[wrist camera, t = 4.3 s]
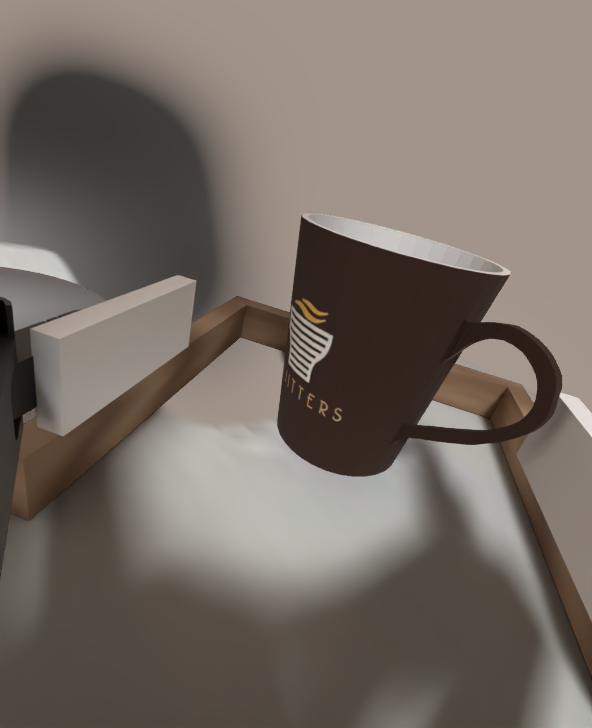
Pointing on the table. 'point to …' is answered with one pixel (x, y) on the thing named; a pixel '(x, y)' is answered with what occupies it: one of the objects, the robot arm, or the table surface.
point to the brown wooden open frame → (270, 327)
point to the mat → (42, 296)
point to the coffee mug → (387, 343)
